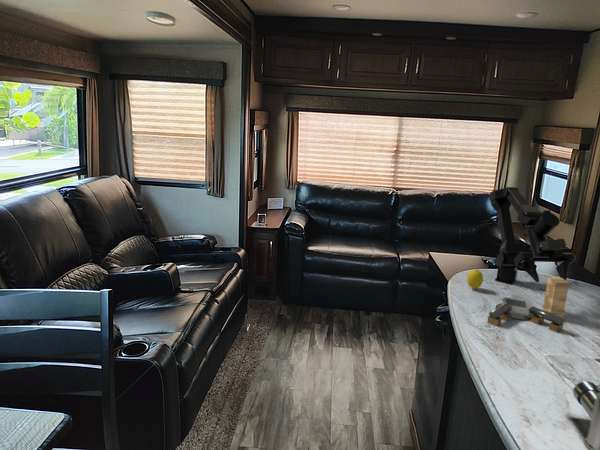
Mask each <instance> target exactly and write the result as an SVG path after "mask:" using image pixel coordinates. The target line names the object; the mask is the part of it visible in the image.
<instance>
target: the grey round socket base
mask: <svg viewBox="0 0 600 450" xmlns="http://www.w3.org/2000/svg"><path fill="white" fill-rule="evenodd" d="M505 304H510V305H511V306H512V310H511V311H509V312H508V313H511V315H510V320H511V319H512V320H518V321H529V320H530V321H531V317H532V315H533V314H531V313H529V309H530V308H531V306H530V304H529V302H528V301H527V300H524V299H519V298H511V297H503V298H501V302H500V303H498V304H496V305H495V308H494V310H495V309H497V308H499V307H501V306H503V305H505Z"/></svg>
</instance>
